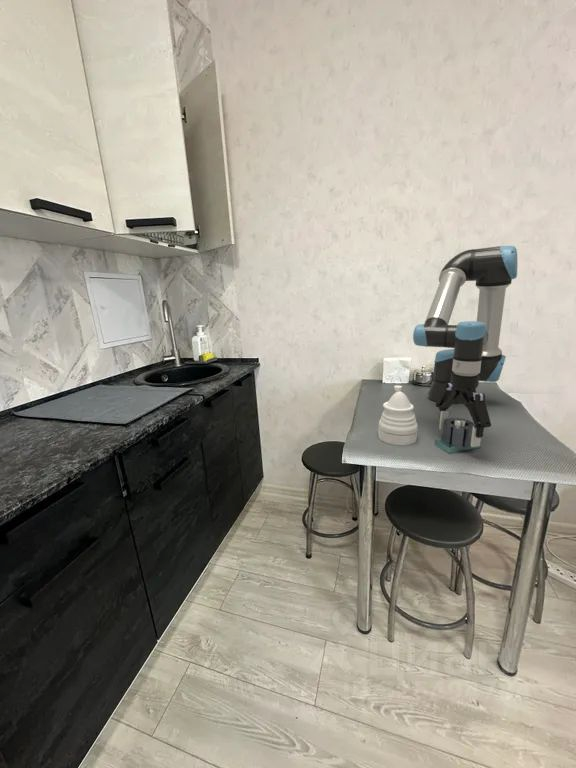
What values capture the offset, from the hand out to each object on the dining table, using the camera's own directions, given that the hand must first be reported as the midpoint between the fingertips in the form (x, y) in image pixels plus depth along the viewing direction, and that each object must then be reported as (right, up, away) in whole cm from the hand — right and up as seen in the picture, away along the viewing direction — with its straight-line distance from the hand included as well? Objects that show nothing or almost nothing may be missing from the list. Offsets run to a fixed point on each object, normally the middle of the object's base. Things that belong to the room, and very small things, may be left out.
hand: (458, 437), depth 102 cm
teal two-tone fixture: (0, -3, +1) cm, 3 cm away
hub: (0, -1, 0) cm, 1 cm away
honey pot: (-17, -2, +9) cm, 19 cm away
